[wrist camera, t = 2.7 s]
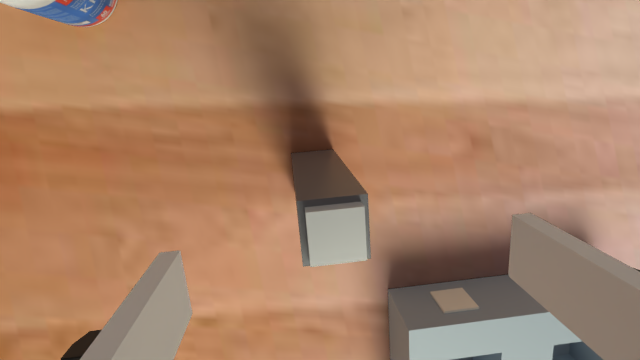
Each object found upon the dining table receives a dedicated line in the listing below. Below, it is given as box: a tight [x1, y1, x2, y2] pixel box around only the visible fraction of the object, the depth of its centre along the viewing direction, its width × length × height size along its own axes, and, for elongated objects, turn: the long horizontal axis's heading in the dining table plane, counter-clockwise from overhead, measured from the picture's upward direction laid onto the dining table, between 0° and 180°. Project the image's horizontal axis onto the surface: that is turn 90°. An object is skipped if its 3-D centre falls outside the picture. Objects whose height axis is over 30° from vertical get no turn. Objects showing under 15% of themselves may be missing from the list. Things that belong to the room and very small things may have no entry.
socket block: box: [388, 275, 603, 360], centre depth 34 cm, size 20×12×6 cm, turn 94°
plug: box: [291, 149, 371, 267], centre depth 24 cm, size 4×4×14 cm
